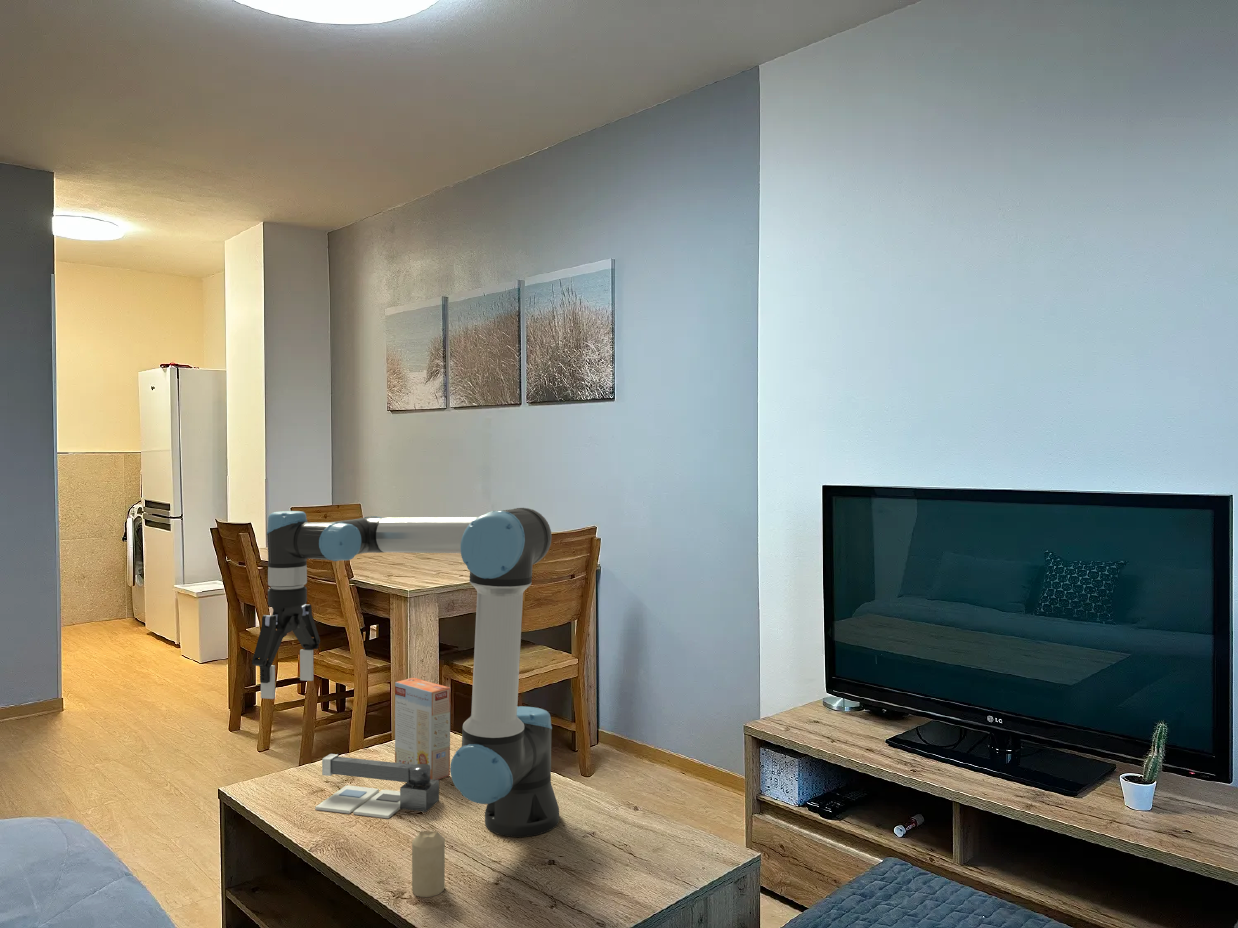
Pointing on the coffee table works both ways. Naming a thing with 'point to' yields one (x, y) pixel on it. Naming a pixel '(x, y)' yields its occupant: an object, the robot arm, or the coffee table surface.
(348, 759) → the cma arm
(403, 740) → the cracker box
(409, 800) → the pivot post
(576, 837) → the coffee table surface
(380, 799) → the label plate
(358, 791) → the label plate
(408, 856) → the coffee table surface
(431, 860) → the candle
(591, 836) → the coffee table surface
